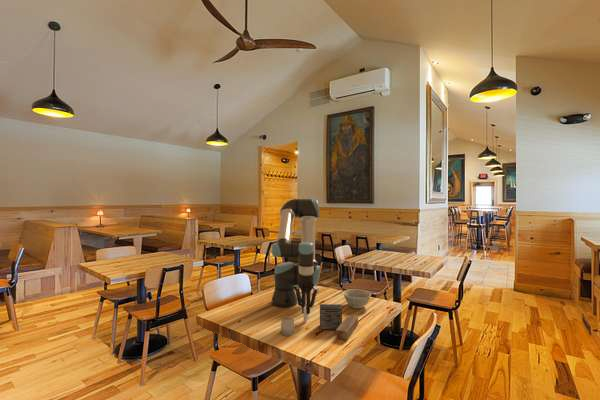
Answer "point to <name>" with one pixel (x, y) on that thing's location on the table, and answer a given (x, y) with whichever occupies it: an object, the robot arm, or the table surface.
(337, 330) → the walnut rail
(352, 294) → the bowl
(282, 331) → the beige rounded piece
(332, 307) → the small box
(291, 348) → the table surface
